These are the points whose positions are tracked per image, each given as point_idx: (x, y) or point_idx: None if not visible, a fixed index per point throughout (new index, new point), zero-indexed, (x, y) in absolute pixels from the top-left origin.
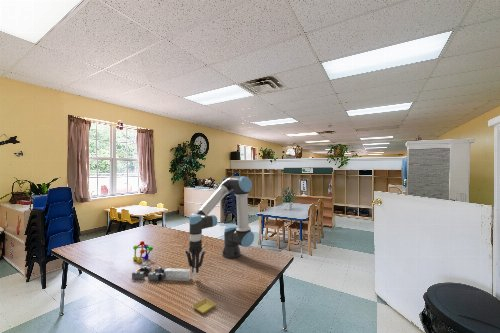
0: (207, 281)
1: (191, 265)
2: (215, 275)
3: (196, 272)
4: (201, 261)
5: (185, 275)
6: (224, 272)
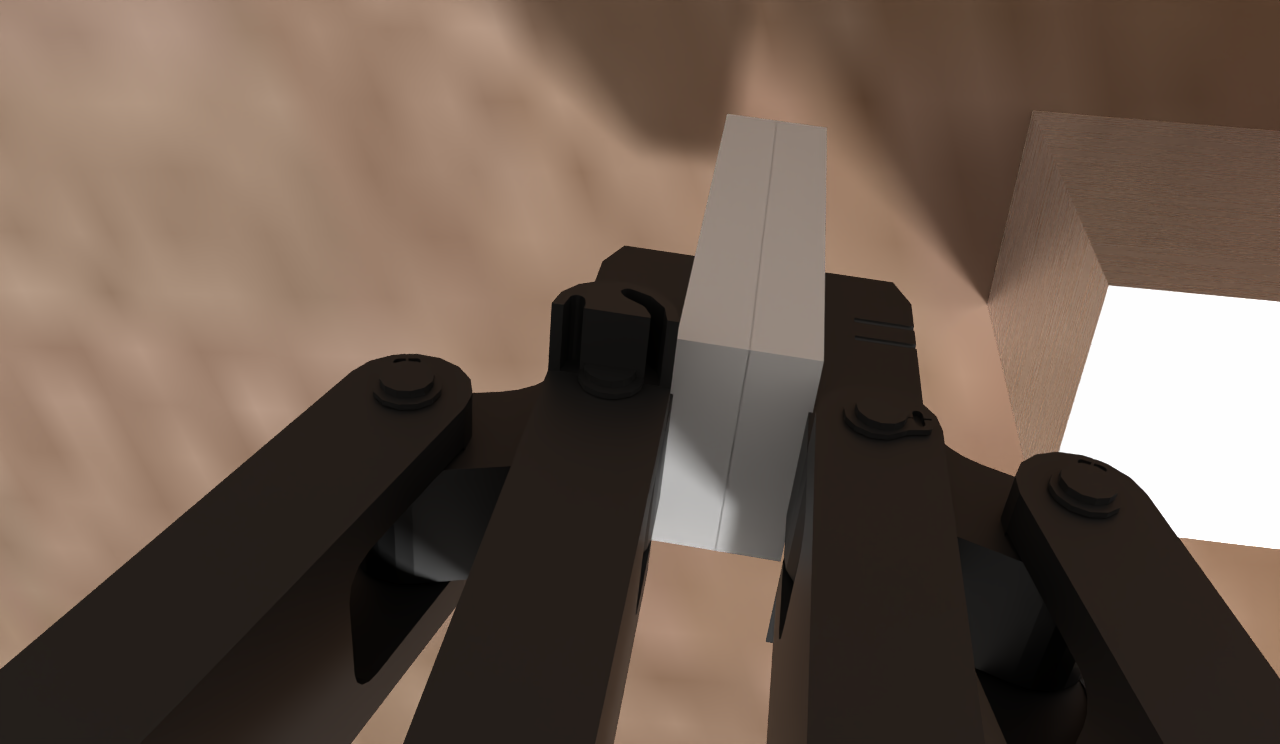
0: (303, 78)
1: (986, 515)
2: (217, 442)
3: (683, 263)
4: (98, 589)
5: (1225, 207)
6: (52, 577)
